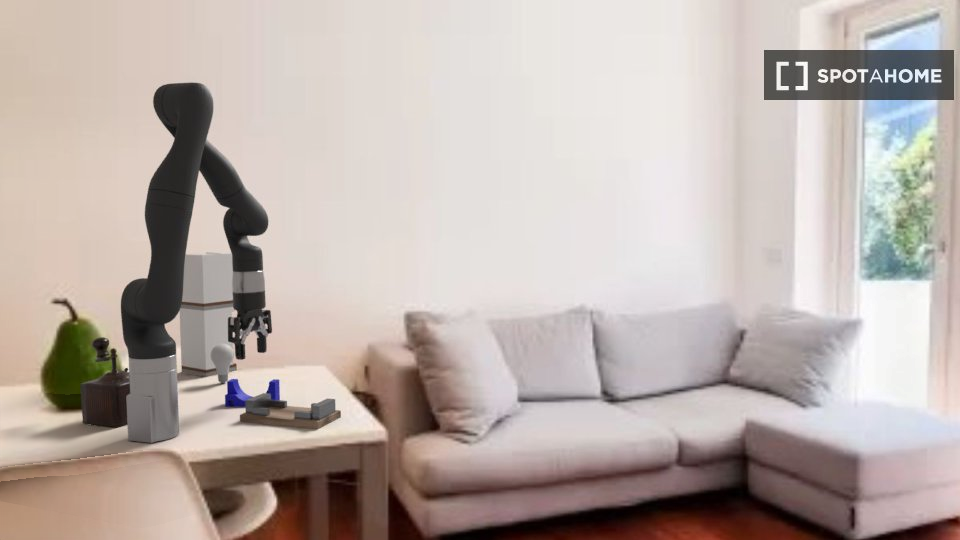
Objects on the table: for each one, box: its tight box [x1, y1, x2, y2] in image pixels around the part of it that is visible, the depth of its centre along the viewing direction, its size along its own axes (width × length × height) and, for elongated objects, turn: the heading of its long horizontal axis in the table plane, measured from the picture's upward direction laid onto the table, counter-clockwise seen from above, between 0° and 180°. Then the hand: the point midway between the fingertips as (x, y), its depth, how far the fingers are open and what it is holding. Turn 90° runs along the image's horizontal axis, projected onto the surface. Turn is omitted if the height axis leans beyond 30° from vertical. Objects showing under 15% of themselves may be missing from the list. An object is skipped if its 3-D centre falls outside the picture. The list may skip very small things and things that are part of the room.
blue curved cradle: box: [224, 378, 281, 408], centre depth 185 cm, size 12×4×6 cm, turn 86°
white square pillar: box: [179, 251, 238, 378], centre depth 223 cm, size 11×11×35 cm
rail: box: [239, 392, 342, 430], centre depth 172 cm, size 10×20×4 cm, turn 72°
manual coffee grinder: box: [80, 336, 130, 429], centre depth 173 cm, size 16×11×18 cm
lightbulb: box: [211, 344, 235, 384], centre depth 208 cm, size 6×6×11 cm
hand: (251, 355), depth 184 cm, fingers open, 8 cm apart
